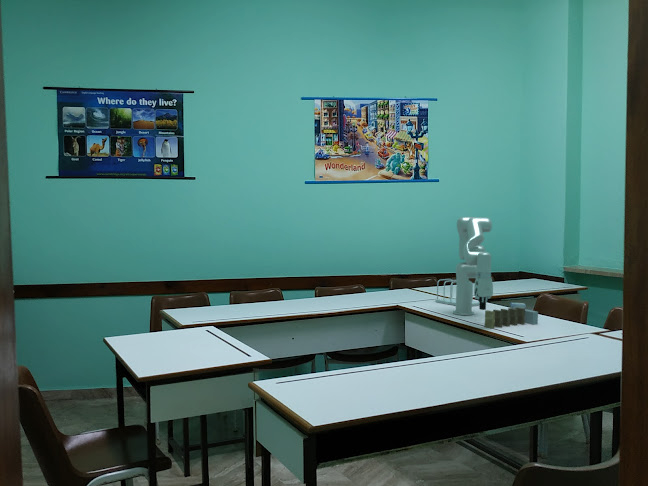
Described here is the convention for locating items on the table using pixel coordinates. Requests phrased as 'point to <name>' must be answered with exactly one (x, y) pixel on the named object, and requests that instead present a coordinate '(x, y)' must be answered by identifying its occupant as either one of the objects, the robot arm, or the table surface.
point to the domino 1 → (489, 319)
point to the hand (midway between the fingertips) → (482, 309)
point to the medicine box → (518, 305)
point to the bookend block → (531, 317)
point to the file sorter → (451, 300)
